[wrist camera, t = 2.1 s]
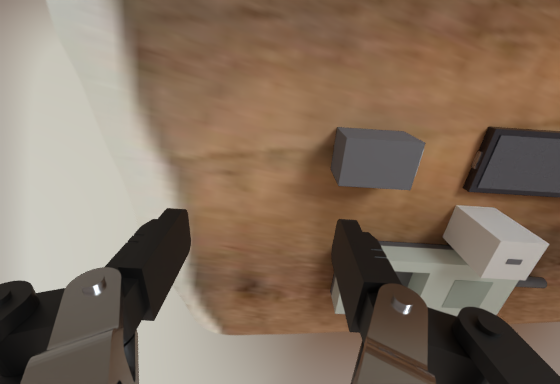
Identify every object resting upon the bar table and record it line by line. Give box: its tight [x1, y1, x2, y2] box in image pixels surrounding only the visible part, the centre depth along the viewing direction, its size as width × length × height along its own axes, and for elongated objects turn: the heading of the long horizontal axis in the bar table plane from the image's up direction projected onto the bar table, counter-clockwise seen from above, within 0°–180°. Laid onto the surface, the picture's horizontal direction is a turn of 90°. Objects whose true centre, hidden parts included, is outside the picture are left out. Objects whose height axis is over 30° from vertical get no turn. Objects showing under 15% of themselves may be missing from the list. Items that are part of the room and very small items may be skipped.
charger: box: [443, 205, 549, 280], centre depth 24 cm, size 4×4×6 cm
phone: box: [463, 127, 560, 197], centre depth 23 cm, size 12×6×1 cm, turn 86°
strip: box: [330, 241, 547, 316], centre depth 28 cm, size 24×8×4 cm, turn 86°
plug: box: [331, 127, 425, 190], centre depth 22 cm, size 7×4×4 cm, turn 87°
